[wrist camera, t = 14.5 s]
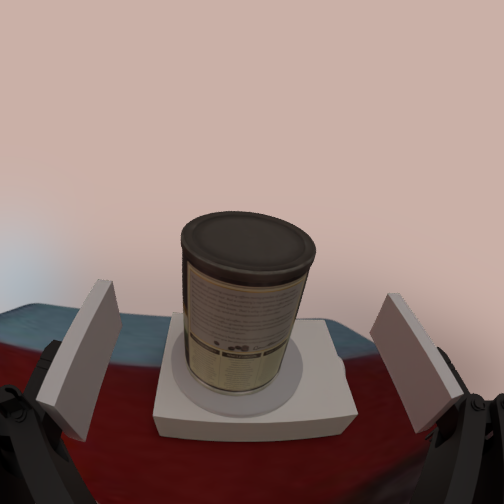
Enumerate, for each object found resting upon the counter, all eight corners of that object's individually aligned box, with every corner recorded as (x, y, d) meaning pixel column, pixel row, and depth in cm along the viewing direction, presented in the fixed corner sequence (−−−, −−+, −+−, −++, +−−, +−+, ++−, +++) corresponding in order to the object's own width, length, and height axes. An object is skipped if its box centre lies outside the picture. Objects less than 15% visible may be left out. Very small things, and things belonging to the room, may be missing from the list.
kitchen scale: (346, 432, 26) (368, 408, 23) (159, 435, 24) (151, 410, 21) (319, 344, 39) (331, 314, 36) (174, 338, 37) (172, 306, 34)
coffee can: (168, 339, 29) (162, 218, 22) (247, 314, 34) (264, 206, 28) (213, 413, 22) (222, 288, 15) (300, 371, 27) (343, 254, 21)
